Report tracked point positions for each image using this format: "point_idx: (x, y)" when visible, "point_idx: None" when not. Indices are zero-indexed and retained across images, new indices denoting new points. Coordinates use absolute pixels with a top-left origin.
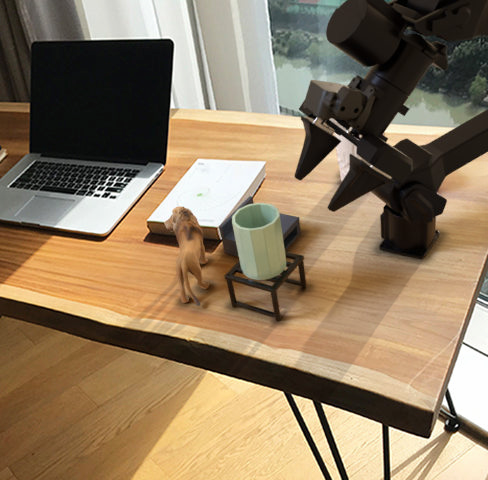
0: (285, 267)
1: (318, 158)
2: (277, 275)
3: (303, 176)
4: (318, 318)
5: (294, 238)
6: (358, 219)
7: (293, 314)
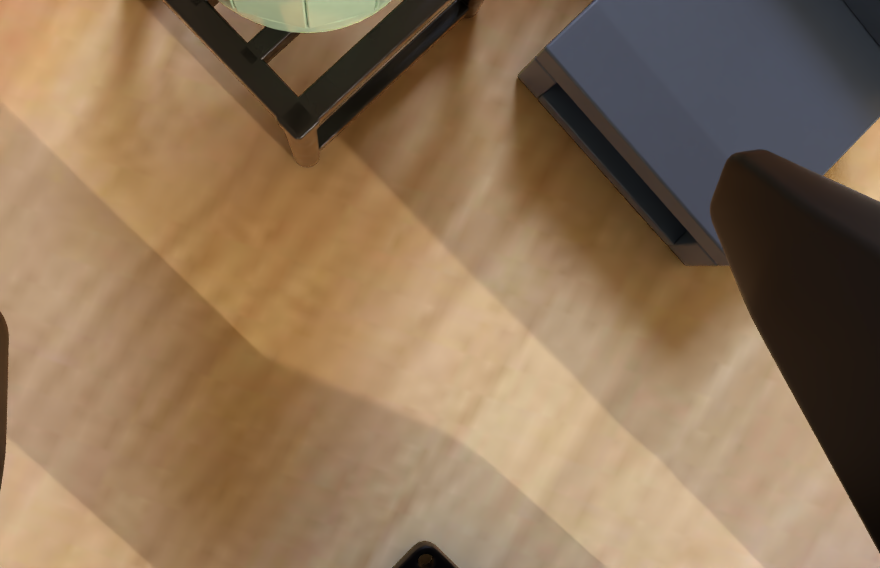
0: (228, 7)
1: (873, 464)
2: (410, 60)
3: (730, 242)
4: (78, 146)
5: (652, 222)
6: (671, 525)
7: (148, 55)
